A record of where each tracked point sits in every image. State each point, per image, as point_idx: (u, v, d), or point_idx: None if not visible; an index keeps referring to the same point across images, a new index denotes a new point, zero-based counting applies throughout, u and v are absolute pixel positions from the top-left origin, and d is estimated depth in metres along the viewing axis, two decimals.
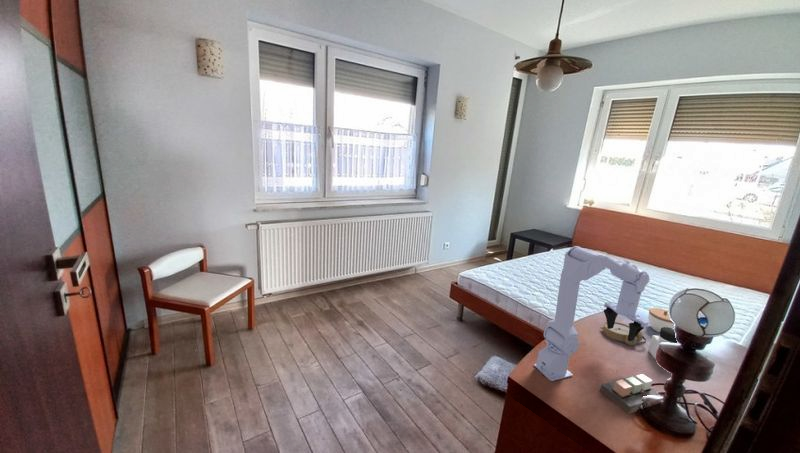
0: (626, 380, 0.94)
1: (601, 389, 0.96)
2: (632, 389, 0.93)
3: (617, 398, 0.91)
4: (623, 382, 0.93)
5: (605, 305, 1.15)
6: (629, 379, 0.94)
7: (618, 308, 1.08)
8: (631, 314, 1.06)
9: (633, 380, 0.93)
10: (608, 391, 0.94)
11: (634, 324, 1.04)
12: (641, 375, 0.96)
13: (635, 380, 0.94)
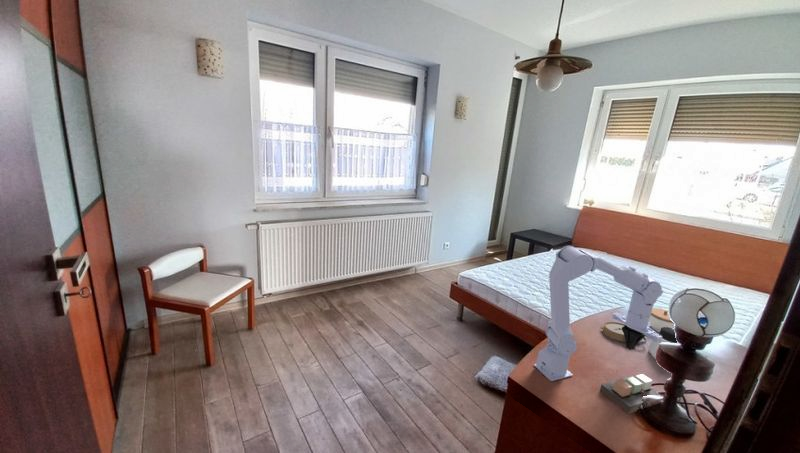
0: (626, 380, 0.94)
1: (601, 389, 0.96)
2: (632, 389, 0.93)
3: (617, 398, 0.91)
4: (623, 382, 0.93)
5: (613, 316, 1.06)
6: (629, 379, 0.94)
7: (628, 320, 1.00)
8: (642, 327, 0.97)
9: (633, 380, 0.93)
10: (608, 391, 0.94)
11: None
12: (641, 375, 0.96)
13: (635, 380, 0.94)
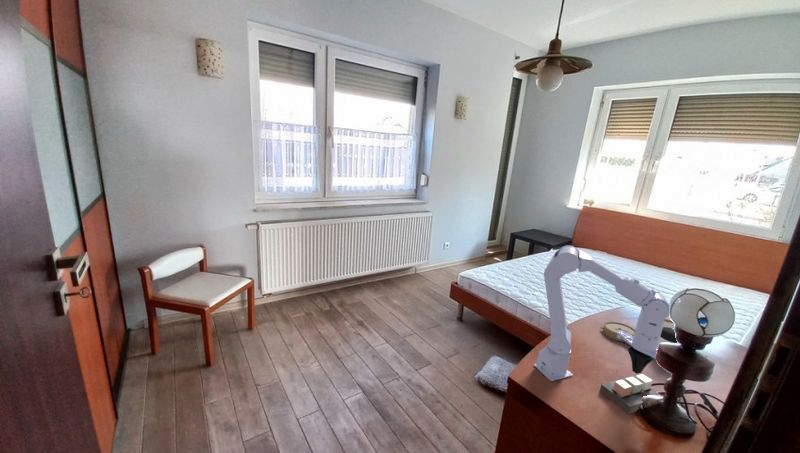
0: (626, 380, 0.94)
1: (601, 389, 0.96)
2: (632, 389, 0.93)
3: (617, 398, 0.91)
4: (623, 382, 0.93)
5: (618, 336, 0.96)
6: (629, 379, 0.94)
7: (635, 342, 0.90)
8: (651, 350, 0.87)
9: (633, 380, 0.93)
10: (608, 391, 0.94)
11: None
12: (641, 375, 0.96)
13: (635, 380, 0.94)
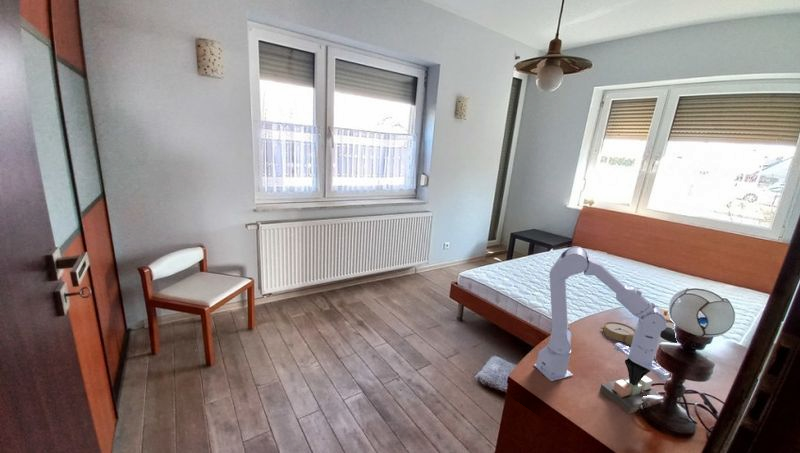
0: None
1: (601, 389, 0.96)
2: (631, 391, 0.93)
3: (617, 398, 0.91)
4: (623, 382, 0.93)
5: (616, 347, 0.97)
6: (628, 381, 0.94)
7: (632, 354, 0.91)
8: (647, 362, 0.88)
9: None
10: (608, 391, 0.94)
11: None
12: None
13: None
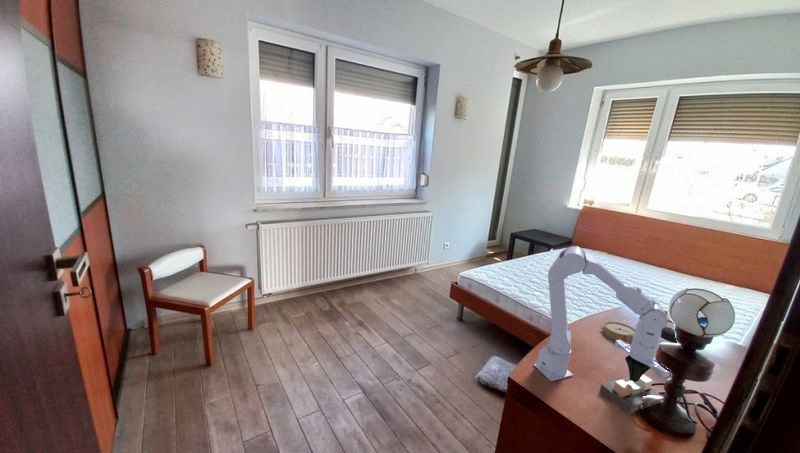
0: None
1: (601, 389, 0.96)
2: (631, 393, 0.93)
3: (617, 398, 0.91)
4: (623, 382, 0.93)
5: (616, 344, 0.97)
6: (628, 383, 0.94)
7: (632, 351, 0.91)
8: (648, 359, 0.88)
9: (632, 385, 0.94)
10: (608, 391, 0.94)
11: None
12: None
13: (634, 384, 0.94)
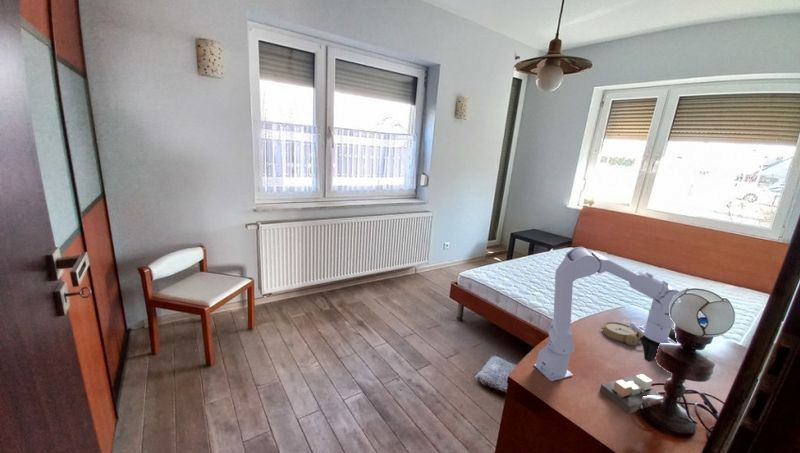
0: None
1: (601, 389, 0.96)
2: (631, 393, 0.93)
3: (617, 398, 0.91)
4: (623, 382, 0.93)
5: (631, 326, 1.00)
6: (628, 383, 0.94)
7: (647, 331, 0.94)
8: (663, 338, 0.91)
9: (632, 385, 0.94)
10: (608, 391, 0.94)
11: None
12: (641, 375, 0.96)
13: (634, 384, 0.94)
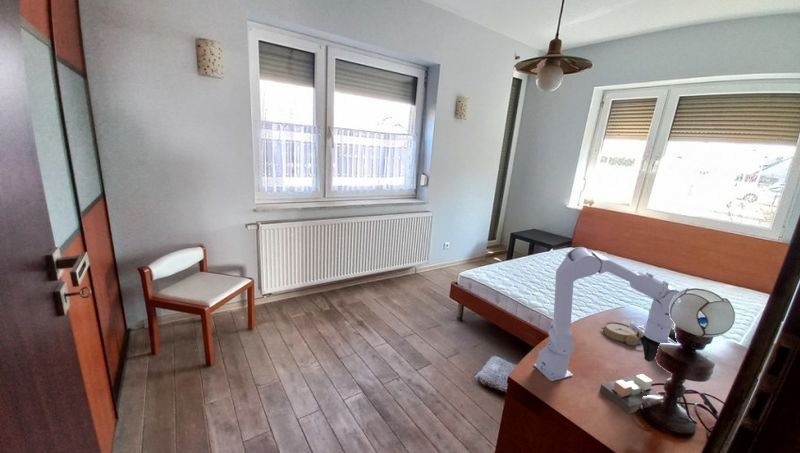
0: None
1: (601, 389, 0.96)
2: (631, 393, 0.93)
3: (617, 398, 0.91)
4: (623, 382, 0.93)
5: (631, 326, 1.00)
6: (628, 383, 0.94)
7: (647, 331, 0.94)
8: (663, 338, 0.91)
9: (632, 385, 0.94)
10: (608, 391, 0.94)
11: None
12: (641, 375, 0.96)
13: (634, 384, 0.94)
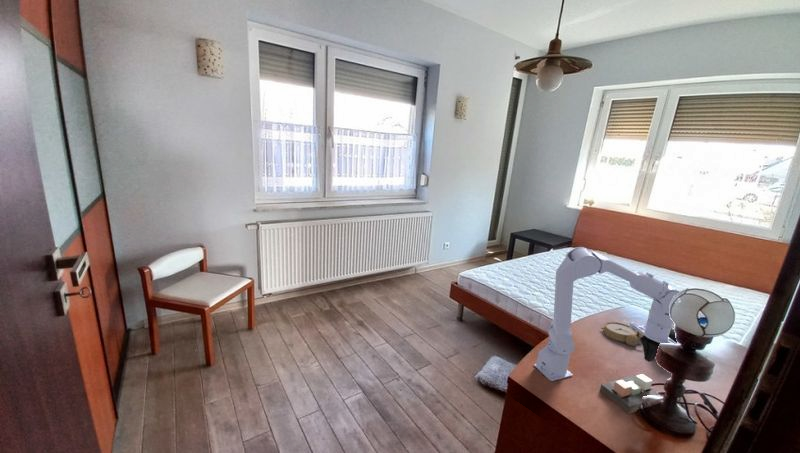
0: None
1: (601, 389, 0.96)
2: (631, 393, 0.93)
3: (617, 398, 0.91)
4: (623, 382, 0.93)
5: (631, 326, 1.00)
6: (628, 383, 0.94)
7: (647, 331, 0.94)
8: (663, 338, 0.91)
9: (632, 385, 0.94)
10: (608, 391, 0.94)
11: None
12: (641, 375, 0.96)
13: (634, 384, 0.94)
